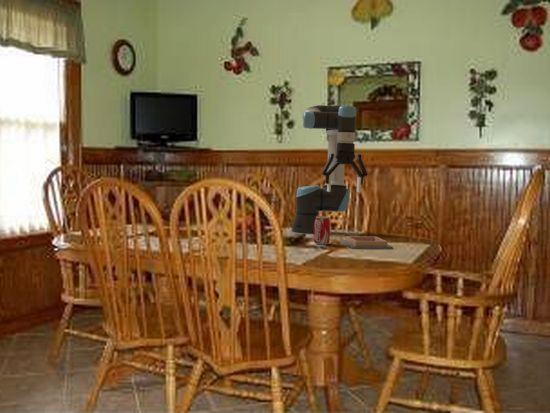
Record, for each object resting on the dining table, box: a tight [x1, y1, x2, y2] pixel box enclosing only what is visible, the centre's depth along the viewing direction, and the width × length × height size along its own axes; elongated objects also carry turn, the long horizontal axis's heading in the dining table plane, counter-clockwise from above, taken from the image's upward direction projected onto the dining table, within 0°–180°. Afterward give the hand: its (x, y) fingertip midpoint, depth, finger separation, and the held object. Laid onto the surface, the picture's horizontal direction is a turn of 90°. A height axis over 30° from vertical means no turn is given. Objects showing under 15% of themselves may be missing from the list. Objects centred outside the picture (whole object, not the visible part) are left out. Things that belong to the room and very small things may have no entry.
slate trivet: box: [339, 235, 394, 250], centre depth 254 cm, size 18×18×3 cm
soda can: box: [313, 215, 331, 246], centre depth 254 cm, size 7×7×12 cm
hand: (343, 192), depth 251 cm, fingers open, 13 cm apart
